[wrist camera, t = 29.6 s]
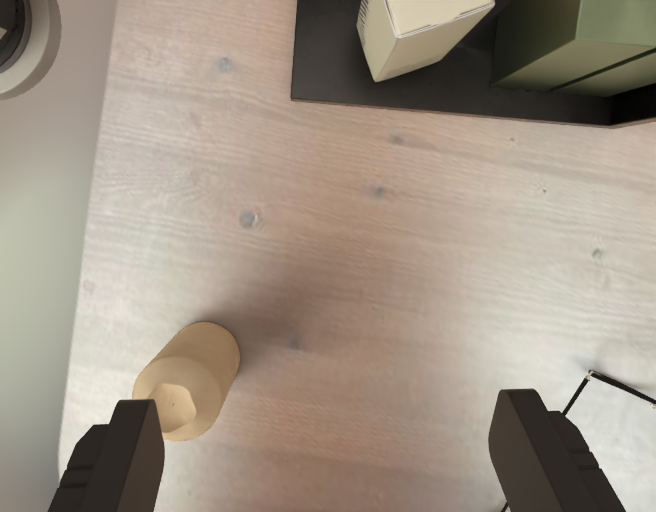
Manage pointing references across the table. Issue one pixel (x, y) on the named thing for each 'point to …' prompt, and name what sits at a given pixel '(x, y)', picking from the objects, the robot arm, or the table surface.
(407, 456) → the table surface
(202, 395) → the candle
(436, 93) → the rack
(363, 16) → the box
